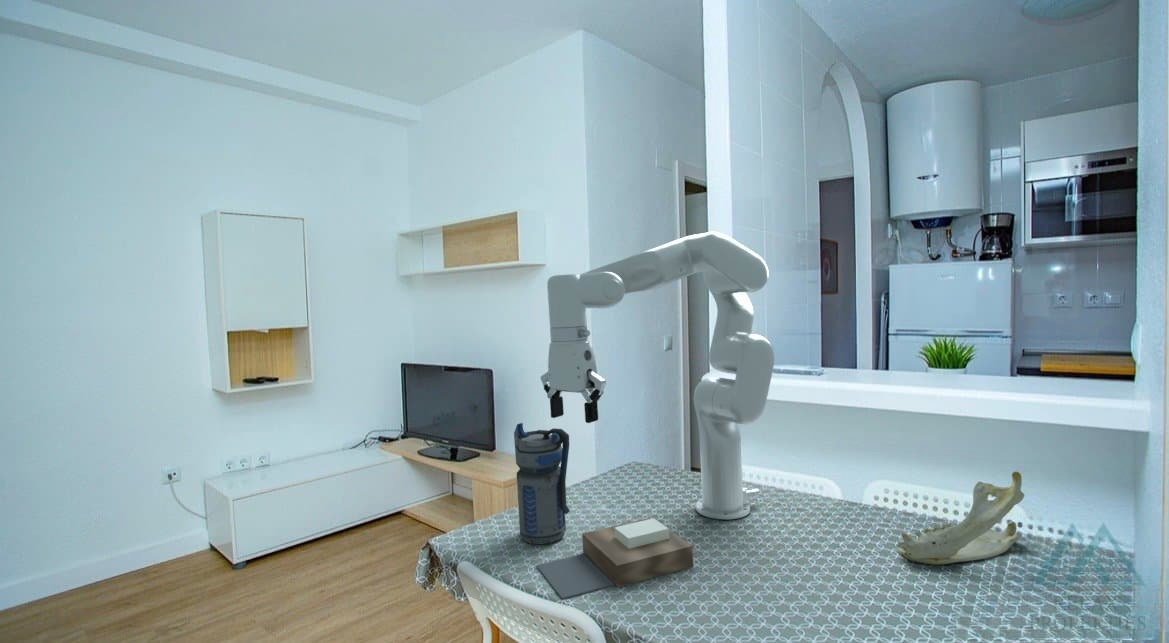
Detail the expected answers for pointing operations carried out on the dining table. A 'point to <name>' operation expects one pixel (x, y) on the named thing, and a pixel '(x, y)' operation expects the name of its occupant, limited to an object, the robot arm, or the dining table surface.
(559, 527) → the beverage bottle
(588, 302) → the robot arm
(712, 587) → the dining table surface
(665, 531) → the pale grey flat tile
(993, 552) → the jawbone
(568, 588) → the mat
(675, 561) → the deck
